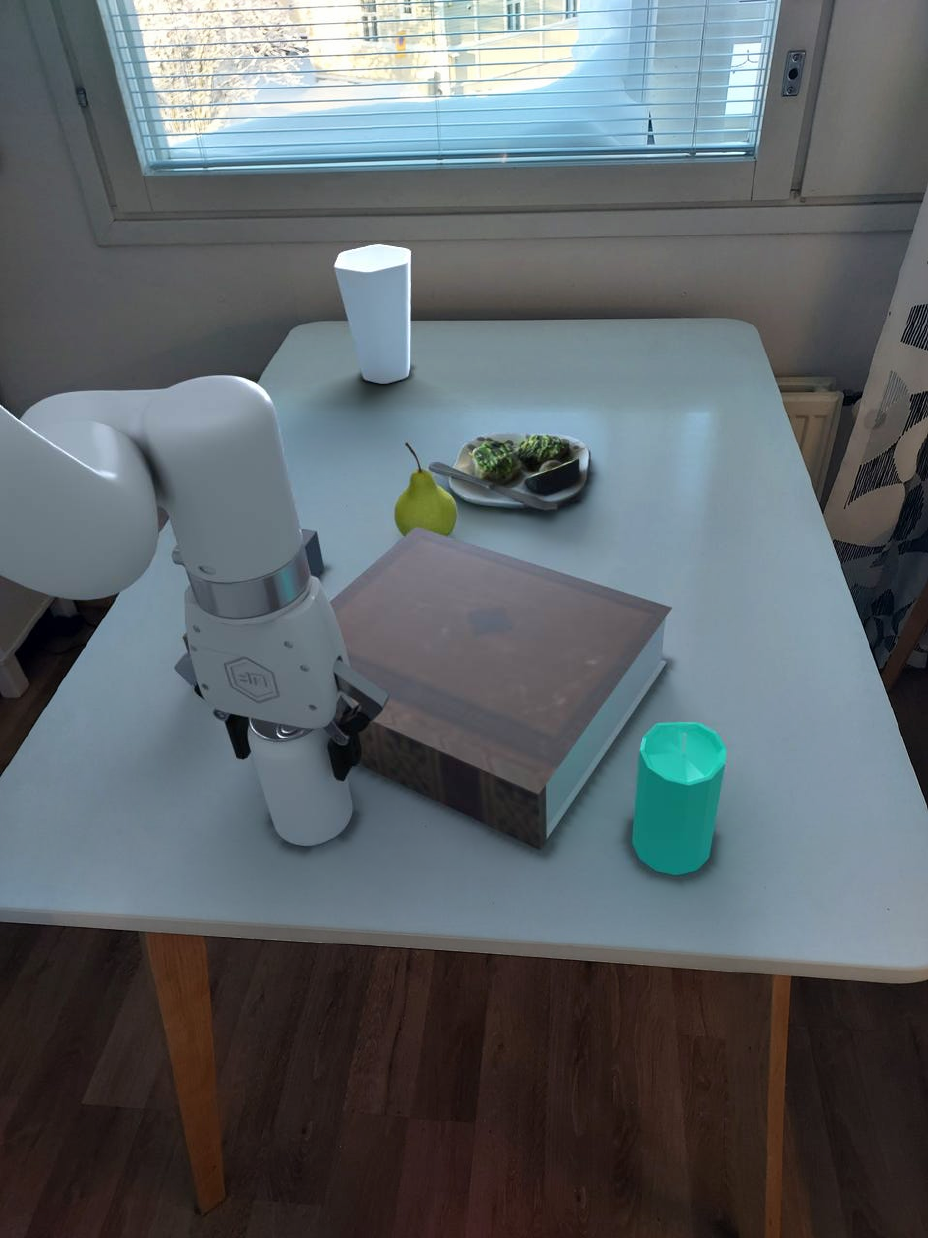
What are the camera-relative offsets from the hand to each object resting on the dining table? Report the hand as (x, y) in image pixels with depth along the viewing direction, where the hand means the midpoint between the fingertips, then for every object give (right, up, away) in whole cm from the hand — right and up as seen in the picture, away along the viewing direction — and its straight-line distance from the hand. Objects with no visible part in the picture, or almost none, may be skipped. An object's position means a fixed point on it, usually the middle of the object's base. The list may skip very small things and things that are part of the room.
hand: (298, 755), depth 71 cm
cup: (+1, +47, +69) cm, 83 cm away
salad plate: (+20, +27, +43) cm, 55 cm away
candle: (+29, -7, +1) cm, 29 cm away
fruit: (+9, +19, +34) cm, 40 cm away
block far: (-6, +15, +30) cm, 34 cm away
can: (0, -6, +5) cm, 7 cm away
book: (+13, +4, +15) cm, 20 cm away
